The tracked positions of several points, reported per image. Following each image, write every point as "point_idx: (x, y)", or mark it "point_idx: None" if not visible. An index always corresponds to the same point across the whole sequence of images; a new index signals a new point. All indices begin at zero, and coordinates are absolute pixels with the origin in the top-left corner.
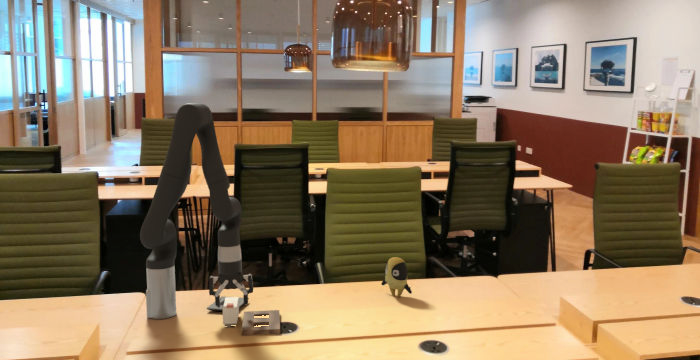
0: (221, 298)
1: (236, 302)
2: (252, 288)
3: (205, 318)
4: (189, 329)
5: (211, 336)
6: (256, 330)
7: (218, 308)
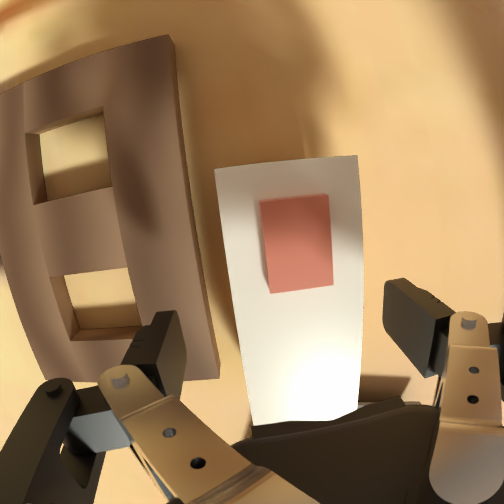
0: None
1: (250, 348)
2: (25, 409)
3: None
4: (473, 164)
5: (351, 42)
6: (82, 59)
7: None
